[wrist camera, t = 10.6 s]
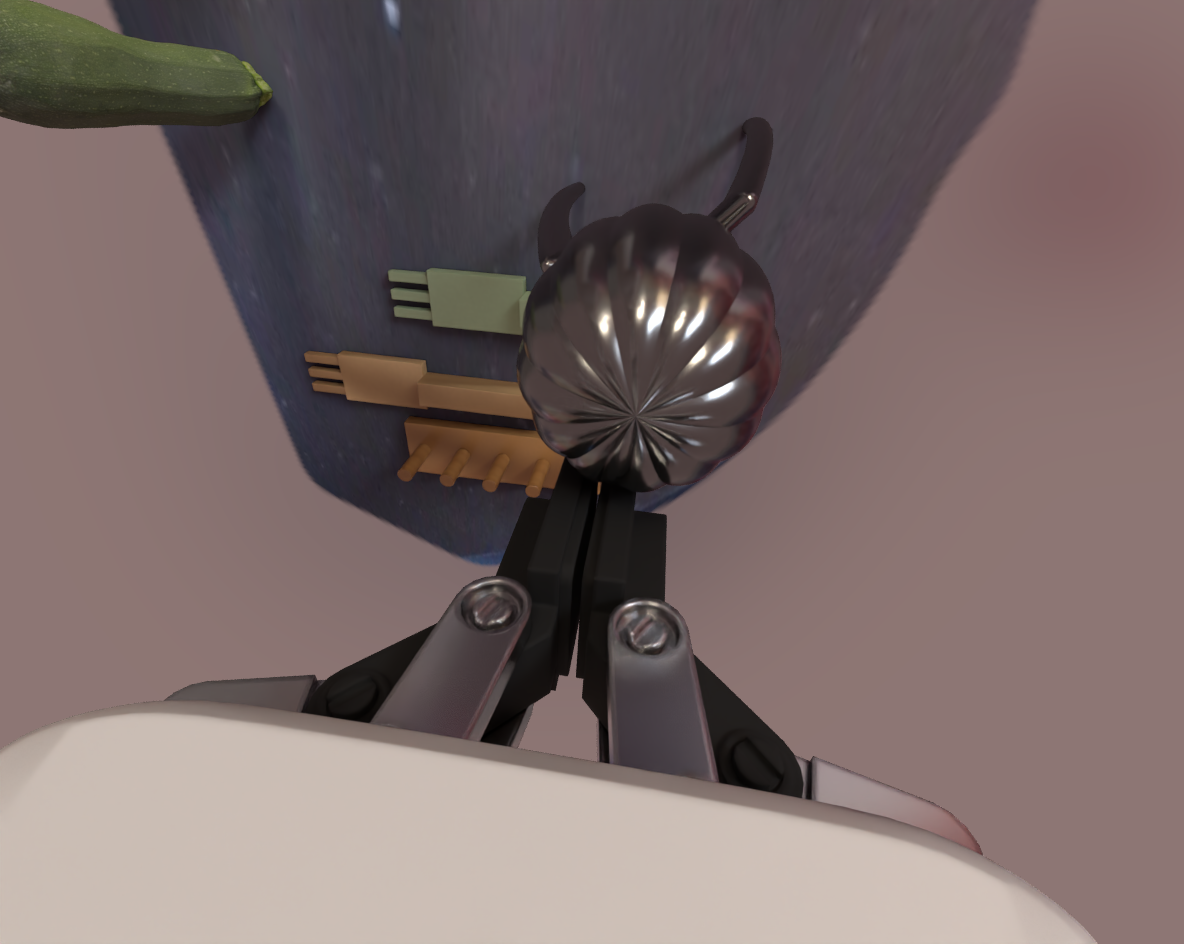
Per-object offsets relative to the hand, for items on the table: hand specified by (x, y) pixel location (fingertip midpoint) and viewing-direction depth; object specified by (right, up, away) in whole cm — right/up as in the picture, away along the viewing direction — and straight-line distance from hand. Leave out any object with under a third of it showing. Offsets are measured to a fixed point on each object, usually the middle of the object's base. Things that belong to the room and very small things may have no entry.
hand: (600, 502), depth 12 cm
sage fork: (-3, +13, +25) cm, 28 cm away
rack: (-8, +2, +33) cm, 34 cm away
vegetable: (-22, +25, +20) cm, 39 cm away
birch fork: (-12, +8, +30) cm, 33 cm away
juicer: (+6, +18, +20) cm, 28 cm away
